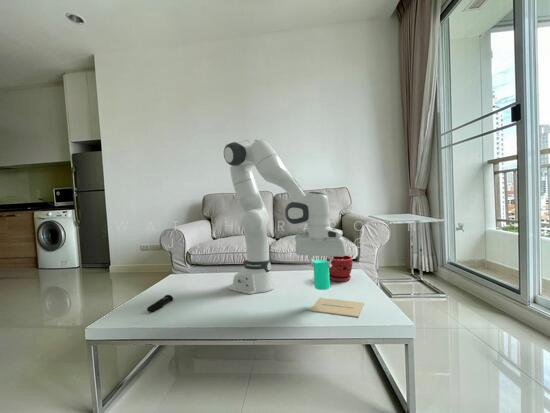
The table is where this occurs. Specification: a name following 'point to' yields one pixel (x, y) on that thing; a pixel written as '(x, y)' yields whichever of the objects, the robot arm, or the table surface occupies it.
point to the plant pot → (340, 268)
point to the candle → (321, 275)
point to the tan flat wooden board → (338, 307)
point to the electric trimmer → (160, 303)
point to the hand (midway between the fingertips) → (321, 266)
